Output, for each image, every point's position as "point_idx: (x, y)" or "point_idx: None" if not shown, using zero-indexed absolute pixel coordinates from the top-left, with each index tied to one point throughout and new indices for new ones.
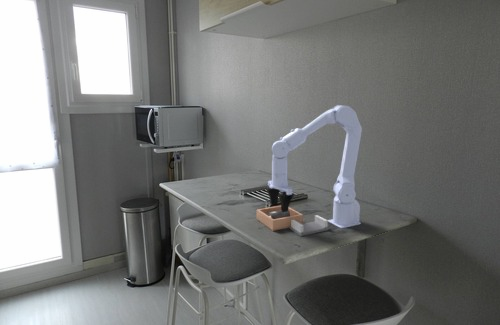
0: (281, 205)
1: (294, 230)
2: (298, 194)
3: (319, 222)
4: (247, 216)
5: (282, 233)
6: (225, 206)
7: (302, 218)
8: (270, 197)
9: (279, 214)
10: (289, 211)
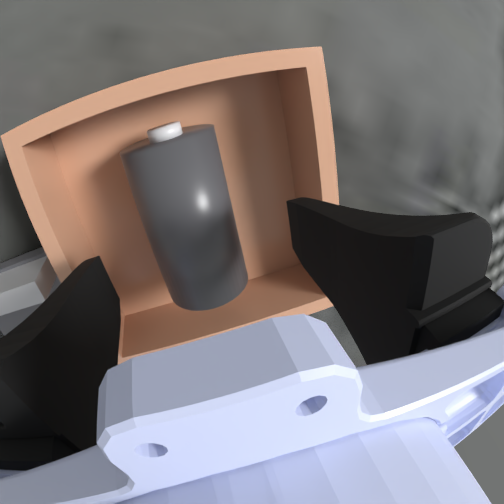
0: (67, 287)
1: (13, 261)
2: None
3: None
4: (362, 26)
5: (8, 182)
6: (497, 13)
7: None
8: (344, 217)
9: (149, 222)
10: (248, 307)
